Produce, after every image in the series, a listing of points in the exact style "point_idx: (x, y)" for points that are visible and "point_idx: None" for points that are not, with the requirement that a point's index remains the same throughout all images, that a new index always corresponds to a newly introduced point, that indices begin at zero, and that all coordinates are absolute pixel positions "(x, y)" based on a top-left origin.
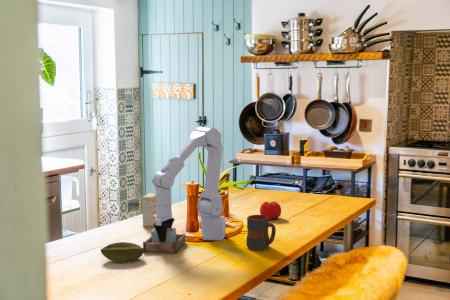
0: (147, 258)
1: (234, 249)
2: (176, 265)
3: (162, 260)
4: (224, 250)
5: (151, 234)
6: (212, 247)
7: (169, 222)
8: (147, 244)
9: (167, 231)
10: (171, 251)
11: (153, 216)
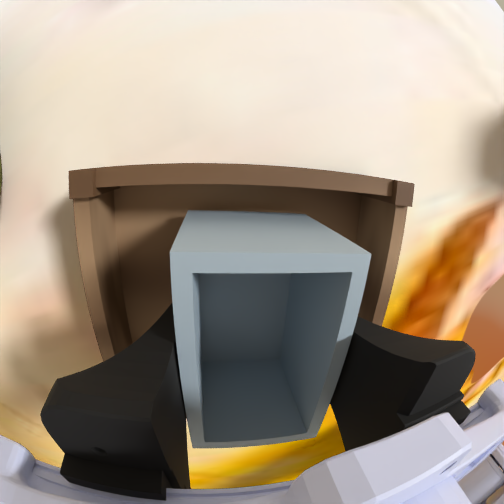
0: (17, 245)
1: (253, 484)
2: (17, 385)
3: (26, 330)
4: (237, 475)
5: (176, 237)
6: (270, 452)
7: (357, 443)
8: (79, 214)
9: (198, 423)
10: None
11: (318, 501)
